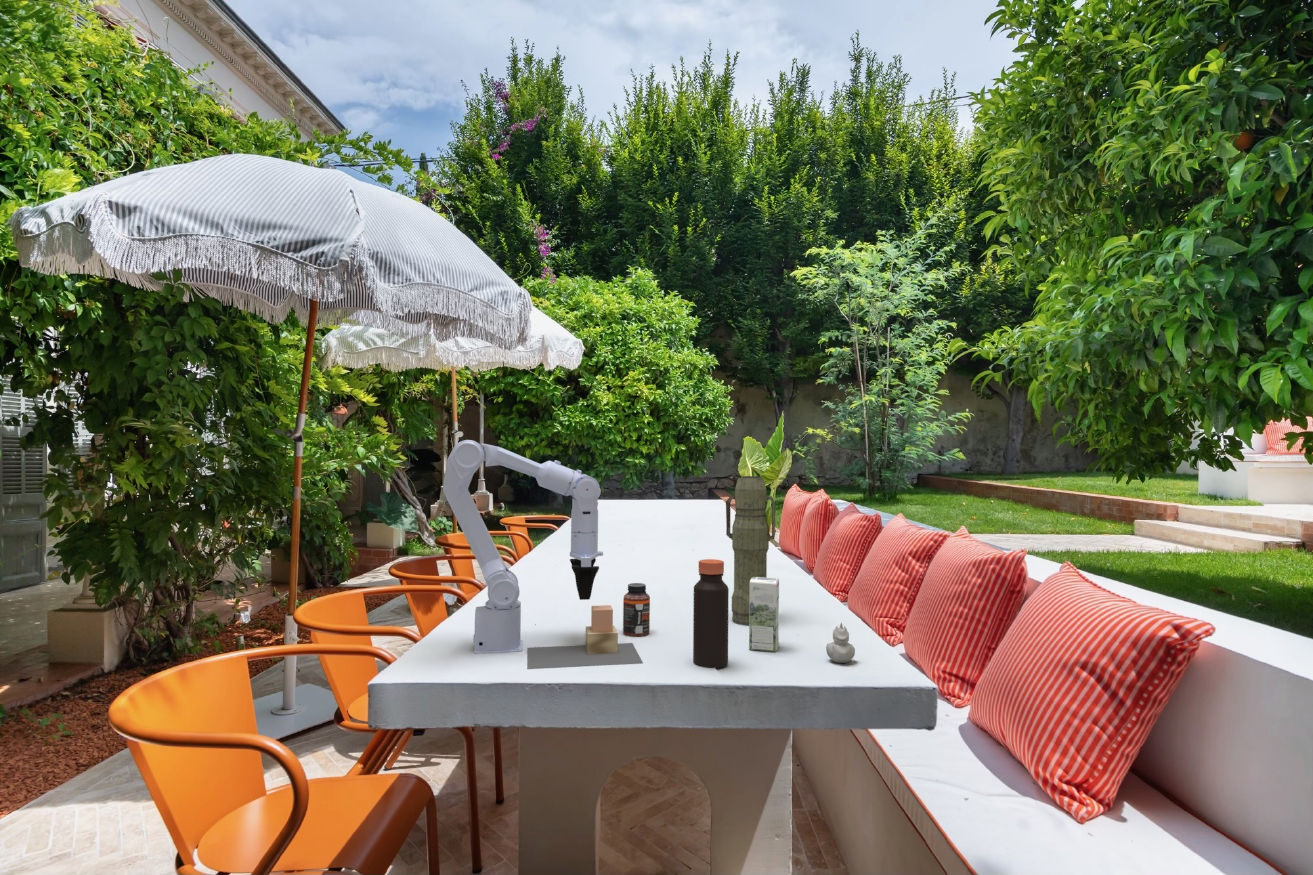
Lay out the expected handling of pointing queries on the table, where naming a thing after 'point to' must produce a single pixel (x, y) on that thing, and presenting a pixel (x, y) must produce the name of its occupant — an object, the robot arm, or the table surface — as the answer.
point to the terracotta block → (602, 618)
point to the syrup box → (763, 614)
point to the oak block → (601, 641)
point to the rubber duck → (840, 646)
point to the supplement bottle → (636, 611)
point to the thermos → (748, 540)
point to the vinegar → (710, 616)
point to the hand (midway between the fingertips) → (583, 595)
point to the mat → (579, 656)
